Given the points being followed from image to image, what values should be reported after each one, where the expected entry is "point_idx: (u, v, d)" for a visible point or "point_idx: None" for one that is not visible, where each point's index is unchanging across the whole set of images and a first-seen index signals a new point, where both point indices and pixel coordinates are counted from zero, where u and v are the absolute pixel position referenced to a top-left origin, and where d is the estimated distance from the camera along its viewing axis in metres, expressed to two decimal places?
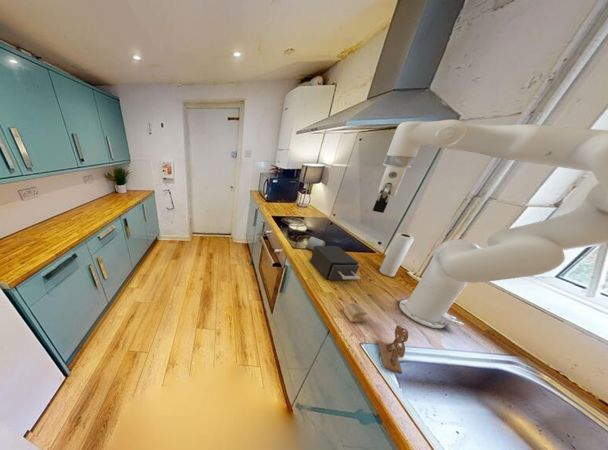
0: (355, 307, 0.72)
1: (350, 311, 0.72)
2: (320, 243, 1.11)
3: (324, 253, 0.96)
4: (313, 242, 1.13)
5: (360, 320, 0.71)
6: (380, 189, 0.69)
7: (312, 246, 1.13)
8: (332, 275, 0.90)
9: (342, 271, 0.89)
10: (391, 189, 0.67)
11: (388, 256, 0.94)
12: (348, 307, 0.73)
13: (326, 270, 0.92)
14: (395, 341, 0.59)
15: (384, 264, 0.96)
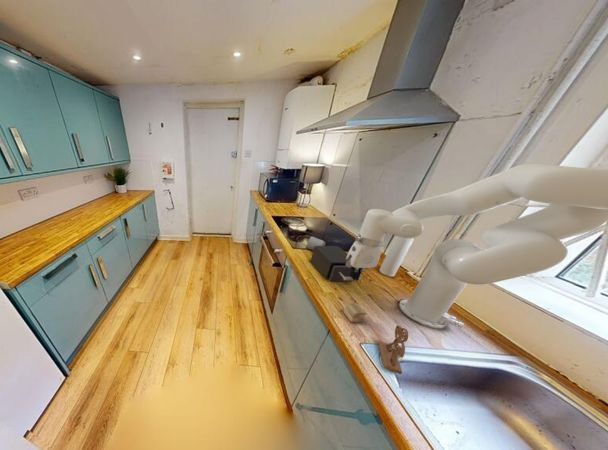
0: (355, 307, 0.72)
1: (350, 311, 0.72)
2: (320, 243, 1.11)
3: (324, 253, 0.96)
4: (313, 242, 1.13)
5: (360, 320, 0.71)
6: None
7: (312, 246, 1.13)
8: (333, 276, 0.89)
9: (343, 272, 0.89)
10: None
11: (388, 256, 0.94)
12: (348, 307, 0.73)
13: (326, 270, 0.92)
14: (395, 341, 0.59)
15: (384, 264, 0.96)
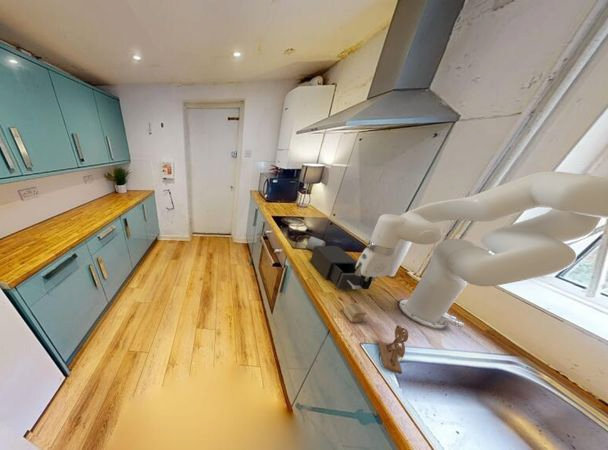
0: (355, 307, 0.72)
1: (350, 311, 0.72)
2: (320, 243, 1.11)
3: (324, 253, 0.96)
4: (313, 242, 1.13)
5: (360, 320, 0.71)
6: (356, 265, 0.77)
7: (312, 246, 1.13)
8: (341, 284, 0.84)
9: (351, 280, 0.84)
10: None
11: None
12: (348, 307, 0.73)
13: (326, 270, 0.92)
14: (395, 341, 0.59)
15: None
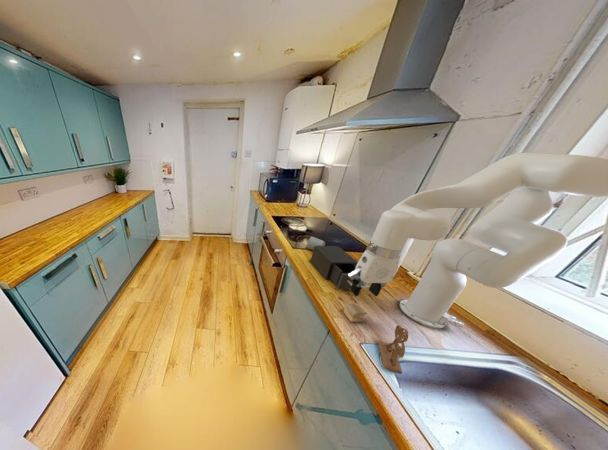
0: (355, 307, 0.72)
1: (350, 311, 0.72)
2: (320, 243, 1.11)
3: (324, 253, 0.96)
4: (313, 242, 1.13)
5: (360, 320, 0.71)
6: (354, 270, 0.67)
7: (312, 246, 1.13)
8: (341, 284, 0.84)
9: None
10: (360, 276, 0.64)
11: None
12: (348, 307, 0.73)
13: (326, 270, 0.92)
14: (395, 341, 0.59)
15: None
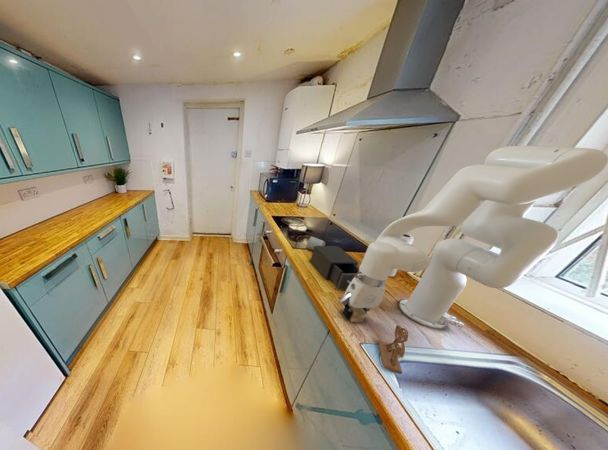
0: None
1: None
2: (320, 243, 1.11)
3: (324, 253, 0.96)
4: (313, 242, 1.13)
5: (360, 320, 0.71)
6: None
7: (312, 246, 1.13)
8: (341, 284, 0.84)
9: (351, 280, 0.84)
10: None
11: None
12: None
13: (326, 270, 0.92)
14: (395, 341, 0.59)
15: None
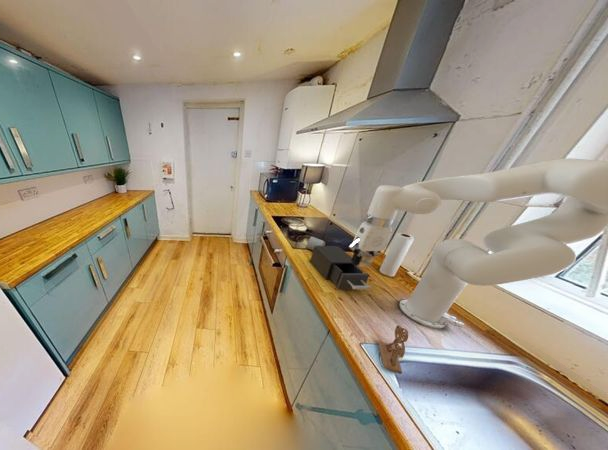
0: (363, 253, 0.76)
1: None
2: (320, 243, 1.11)
3: (324, 253, 0.96)
4: (313, 242, 1.13)
5: (368, 265, 0.76)
6: (353, 241, 0.75)
7: (312, 246, 1.13)
8: (341, 284, 0.84)
9: (351, 280, 0.84)
10: (359, 246, 0.73)
11: (388, 256, 0.94)
12: None
13: (326, 270, 0.92)
14: (395, 341, 0.59)
15: (384, 264, 0.96)
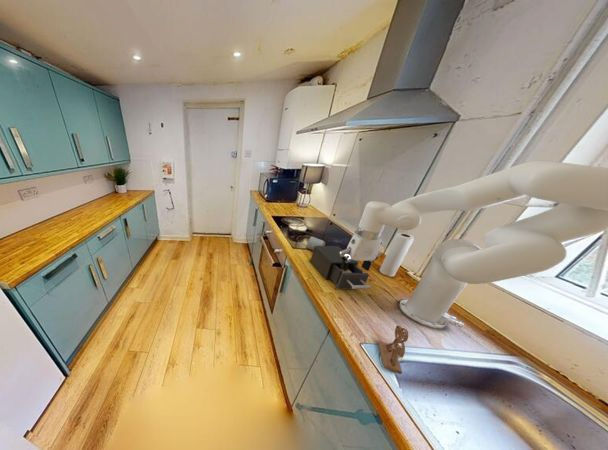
0: None
1: None
2: (320, 243, 1.11)
3: (324, 253, 0.96)
4: (313, 242, 1.13)
5: None
6: None
7: (312, 246, 1.13)
8: (340, 284, 0.85)
9: (351, 280, 0.84)
10: (350, 253, 0.79)
11: (388, 256, 0.94)
12: None
13: (326, 270, 0.92)
14: (395, 341, 0.59)
15: (384, 264, 0.96)
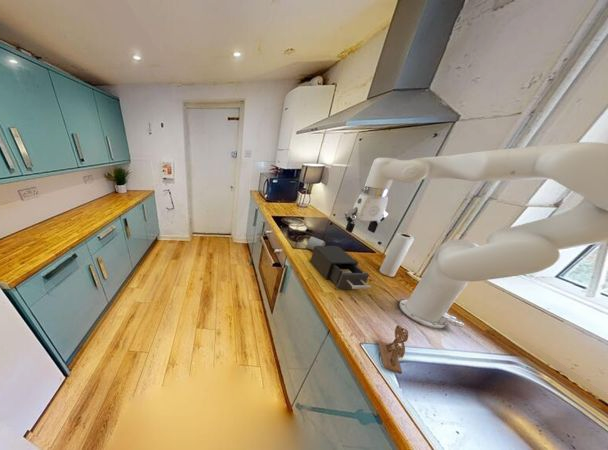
0: None
1: None
2: (320, 243, 1.11)
3: (324, 253, 0.96)
4: (313, 242, 1.13)
5: None
6: None
7: (312, 246, 1.13)
8: (340, 284, 0.85)
9: (351, 280, 0.84)
10: (356, 213, 0.78)
11: (388, 256, 0.94)
12: None
13: (326, 270, 0.92)
14: (395, 341, 0.59)
15: (384, 264, 0.96)
